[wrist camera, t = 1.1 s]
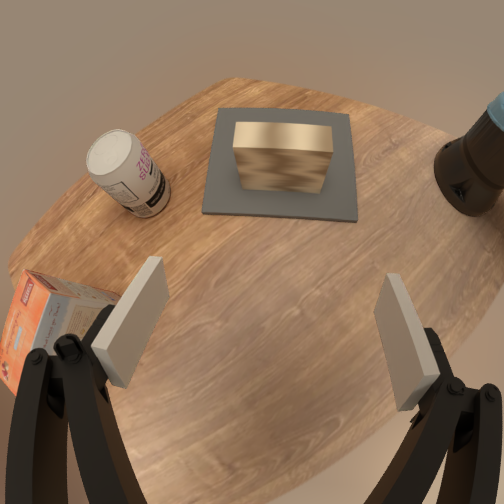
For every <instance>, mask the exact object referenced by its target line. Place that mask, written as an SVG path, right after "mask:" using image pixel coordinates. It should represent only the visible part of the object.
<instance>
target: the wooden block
mask: <svg viewBox="0 0 504 504" xmlns="http://www.w3.org/2000/svg"><path fill="white" fill-rule="evenodd" d="M233 151H234V155H235V159H236V164H237V168H238V172H239V177H240V181H241V185H242V189H243V190H268V191H287V192H304V193H318V194H320V191H321V188H322V185H323V182H324V179H325V176H326V173H327V170H328V167H329V164H330V161H331V158H332V155H333V141H332V128H331V126H321V125H309V124H294V123H273V122H236V126H235V133H234V141H233Z"/></svg>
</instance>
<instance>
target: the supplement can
mask: <svg viewBox="0 0 504 504" xmlns="http://www.w3.org/2000/svg"><path fill="white" fill-rule="evenodd" d="M86 162H87V167H88V170H89V175H90V177H91V178H92V180H93V181H94V182H95V183H96V184H97V185H99V186H100V187H101V188H102V189H103V190H104V191H106V192H107V193H108V194H109V195H110V196H111V197H113V198H114V199H115V200H116V201H117V202H118V203H120V204H121V205H122V206H123V207H124V208H126V209H127V210H128V211H129V212H130V213H132V214H133V215H135V216H137V217H143V218H146V217H150V216H153V215H155V214H156V213H158V212H160V211H161V210H162V209H163V207H164V206H165V205H166V204H167V201H168V199H169V197H170V186H169V182H168V180H167V179H166V178H165V176H164V175H163V173H162V172H161V171H160V169H159V168H158V166H157V165H156V163H155V162H154V161H153V159H152V158H151V156H150V155H149V153H148V152H147V151H146V149H145V148H144V146H143V145H142V143H141V142H140V141H139V139H138V138H137V137H136V136H135V135H134V134H132V133H128V132H126V131H124V130H121V129H119V130H112V131H109V132H107V133H105V134H103V135H102V136H101V137H99V138H98V139H97V140H96V141H95V142H94V143H93V144H92V146H91V148H90V150H89V152H88V155H87V159H86Z"/></svg>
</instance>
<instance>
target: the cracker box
mask: <svg viewBox="0 0 504 504" xmlns="http://www.w3.org/2000/svg"><path fill="white" fill-rule="evenodd" d="M120 299H121V297H120V296H119V295H117V294H116V293H114V292H111V291H107V290H103V289H99V288H95V287H91V286H87V285H83V284H79V283H75V282H71V281H67V280H63V279H60V278H56V277H52V276H48V275H45V274H41V273H37V272H34V271H30V270H27V269H24V270H23V272H22V275H21V278H20V280H19V283H18V286H17V288H16V291H15V294H14V297H13V300H12V303H11V307H10V310H9V313H8V316H7V320H6V323H5V327H4V330H3V335H2V338H1V342H0V378H1V379H2V380H3V382H4V383H5V384H6V385H7V387H8V388H9V389H10V390H11V391H12V392H13V394H14V395H15V396H16V395H17V390H18V386H19V381H20V377H21V373H22V369H23V365H24V362H25V358H26V356H27V354H28V353H29V352H30V351H31V350H33V349H35V348H43V349H45V350H46V351H47V353H48V354H49V355H57V354H56V352H55V351H54V349H53V346H54V343H55V342H56V340H57V339H58V338H59V337H60V336H62V335H65V334H70V333H71V334H76V335H77V336H78V337H79V339H80V341H81V340H82V339H83V337H84V336H85V334H86V332H87V331H88V329H89V328H90V326H91V325H92V323H93V322H94V320H95V319H96V317H97V316H98V314H99V313H100V311H101V310H102V309H103V308H105V307H106V306H107V305H109V304H111V305H117V303H118V302H119V300H120Z"/></svg>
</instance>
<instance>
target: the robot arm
mask: <svg viewBox="0 0 504 504" xmlns="http://www.w3.org/2000/svg"><path fill="white" fill-rule="evenodd" d="M434 171H435V176H436V179H437V182H438V185H439V187H440V189H441V191H442V192H443V194H444V196H445V197H446V198H447V200H448V201H449V202H450V203H451V204H452V205H453V206H454V207H455V208H456V209H458V210H459V211H460V212H462V213H464V214H466V215H469V216H481V215H483V214H484V213H486V212H488V211H489V210H490V209H491V208H492V207H493V206H494V204H495V202H496V200H497V199H498V197H499V196H500V194H501V192H502V191H503V189H504V92H502V93H500V94H499V95H498V96H497V97H496V99H495V100H494V101H493V102H491V103H490V104H489V105H488V106H487V110H486V111H485V112H484V113H483V115H482V116H481V117H480V118H479V119H478V121H477V122H476V123H475V124H474V125H473V126H472V128H471V129H470V130H469V131H468V132H467V133H466V135H465V136H462V137H461V138H458V139H455V140H453V141H451V142H448V143H447V144H445V145H444V146H443V147H442V148H441V149H440V151H439V152H438V153H437V155H436V157H435V161H434ZM168 299H169V292H168V286H167V281H166V276H165V270H164V264H163V258H162V257H156V256H149V258H148V259H147V260H146V262H145V263H144V265H143V266H142V267H141V269H140V270H139V272H138V273H137V275H136V276H135V278H134V279H133V281H132V282H131V284H130V285H129V287H128V288H127V290H126V291H125V293H124V294H123V296H122V297H121V299H120V300H119V302H118V303H117V305H111V304H109V305H107V306H106V307H105V308H103V309H102V310H101V311H100V313H99V314H98V316H97V317H96V319H95V320H94V322H93V323H92V325H91V326H90V328H89V329H88V331H87V332H86V334H85V336H84V337H83V339H82V340H81V341H80V339H79V337H78V336H77V335H76V334H71V333H70V334H65V335H62V336H60V337H59V338H58V339H57V340H56V342H55V343H54V346H53V349H54V351H55V352H56V354H57V355H49V354H48V353H47V351H46V350H45V349H43V348H35V349H33V350H31V351H30V352H29V353H28V354H27V356H26V358H25V362H24V365H23V369H22V373H21V377H20V381H19V386H18V390H17V395H16V399H15V405H14V410H13V416H12V422H11V428H10V435H9V443H8V453H7V466H6V487H5V491H6V492H5V504H68V494H67V432H68V422H69V427H70V432H71V437H72V442H73V447H74V451H75V455H76V459H77V463H78V467H79V471H80V475H81V478H82V482H83V485H84V488H85V491H86V495H87V498H88V500H89V504H147V502H146V500H145V497H144V495H143V493H142V491H141V488H140V486H139V484H138V481H137V479H136V476H135V474H134V471H133V469H132V466H131V463H130V461H129V458H128V455H127V453H126V450H125V447H124V444H123V441H122V438H121V435H120V432H119V429H118V425H117V422H116V419H115V415H114V412H113V408H112V405H111V401H110V397H109V393H108V389H107V387H106V385H105V383H106V381H107V379H109V380H110V382H111V384H112V385H114V386H118V387H121V388H125V389H127V387H128V384H129V382H130V380H131V378H132V375H133V373H134V371H135V369H136V366H137V364H138V362H139V360H140V358H141V355H142V353H143V351H144V349H145V347H146V345H147V342H148V340H149V338H150V336H151V334H152V332H153V330H154V328H155V325H156V323H157V321H158V319H159V317H160V315H161V313H162V311H163V309H164V307H165V305H166V303H167V301H168ZM374 315H375V318H376V322H377V326H378V329H379V333H380V337H381V340H382V344H383V348H384V352H385V356H386V360H387V364H388V369H389V373H390V377H391V382H392V387H393V391H394V396H395V401H396V406H397V411H408V410H413V409H414V407H415V406H416V405H417V404H418V405H419V409H420V410H419V411H418V413H417V414H416V415H415V416H414V417H413V418H412V419H411V421H410V422H411V423H412V425H411V427H410V429H409V430H408V432H407V434H406V436H405V438H404V440H403V442H402V444H401V445H400V447H399V449H398V451H397V453H396V455H395V456H394V458H393V459H392V461H391V463H390V465H389V466H388V468H387V470H386V471H385V473H384V474H383V476H382V477H381V479H380V481H379V482H378V484H377V485H376V487H375V488H374V490H373V491H372V493H371V494H370V495H369V497H368V498H367V500H366V501H365V503H364V504H422V502H423V500H424V499H425V497H426V495H427V493H428V491H429V489H430V487H431V485H432V483H433V481H434V479H435V477H436V475H437V472H438V470H439V468H440V466H441V463H442V461H443V459H444V457H445V454H446V452H447V449H448V452H447V457H446V463H445V469H444V473H443V478H442V482H441V487H440V491H439V495H438V499H437V502H436V504H495V502H496V496H497V490H498V483H499V475H500V464H501V452H502V397H501V392H500V391H499V389H498V388H497V387H496V386H495V385H493V384H489V383H487V384H485V385H483V387H481V389H480V390H478V389H472V388H467V387H465V384H464V383H463V382H462V381H461V380H460V379H459V378H457V377H454V375H453V373H452V370H451V367H450V365H449V362H448V359H447V357H446V354H445V352H444V349H443V347H442V345H441V342H440V339H439V337H438V335H437V334H436V333H435V332H434V330H433V329H432V328H423V326H422V324H421V322H420V319H419V317H418V314H417V312H416V310H415V307H414V305H413V303H412V300H411V298H410V296H409V294H408V292H407V289H406V287H405V285H404V283H403V281H402V279H401V277H400V274H396V273H386V276H385V279H384V282H383V286H382V289H381V292H380V295H379V298H378V301H377V304H376V307H375V309H374Z"/></svg>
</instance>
